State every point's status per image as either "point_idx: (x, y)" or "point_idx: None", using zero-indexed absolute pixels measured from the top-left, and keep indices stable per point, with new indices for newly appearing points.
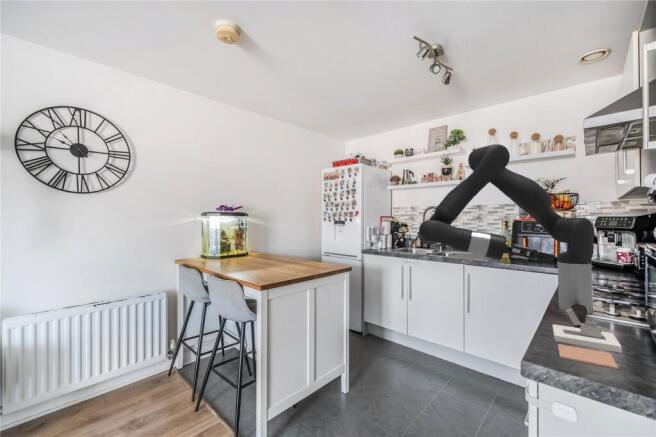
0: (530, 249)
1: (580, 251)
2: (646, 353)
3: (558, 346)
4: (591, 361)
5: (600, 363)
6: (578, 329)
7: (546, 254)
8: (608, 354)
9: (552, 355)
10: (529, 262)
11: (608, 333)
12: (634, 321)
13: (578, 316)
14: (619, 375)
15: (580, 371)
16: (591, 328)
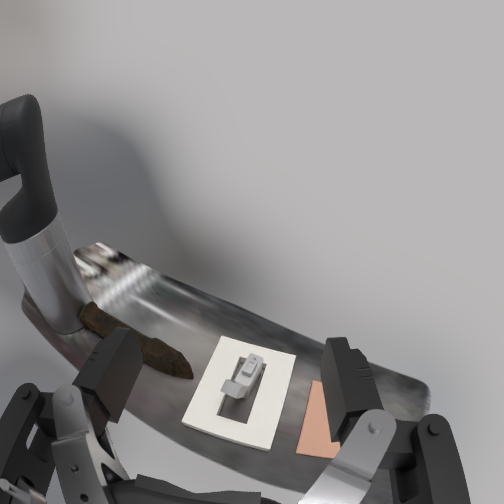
0: (456, 458)
1: (43, 189)
2: (281, 329)
3: (310, 454)
4: None
5: None
6: (210, 384)
7: (355, 373)
8: (319, 385)
9: None
10: None
11: (225, 342)
12: (131, 267)
13: (178, 359)
14: (388, 396)
15: None
16: (257, 372)
